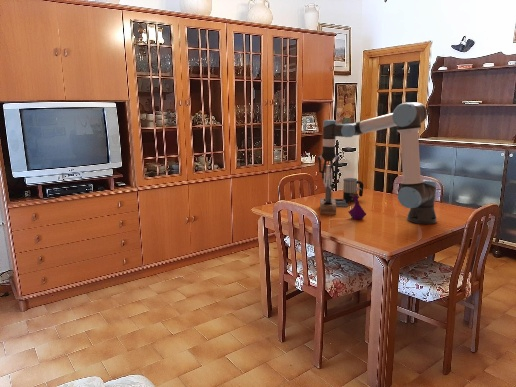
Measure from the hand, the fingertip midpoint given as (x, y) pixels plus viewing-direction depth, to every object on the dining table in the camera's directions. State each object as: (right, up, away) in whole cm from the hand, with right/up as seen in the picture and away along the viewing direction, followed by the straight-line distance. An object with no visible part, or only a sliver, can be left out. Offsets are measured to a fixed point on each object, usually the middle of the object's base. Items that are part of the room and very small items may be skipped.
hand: (327, 183), depth 248 cm
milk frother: (+19, -10, +27) cm, 34 cm away
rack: (0, -17, -1) cm, 17 cm away
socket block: (+10, -13, +13) cm, 21 cm away
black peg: (-1, -16, -6) cm, 17 cm away
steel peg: (0, -3, +1) cm, 3 cm away
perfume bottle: (+14, -21, -18) cm, 31 cm away
